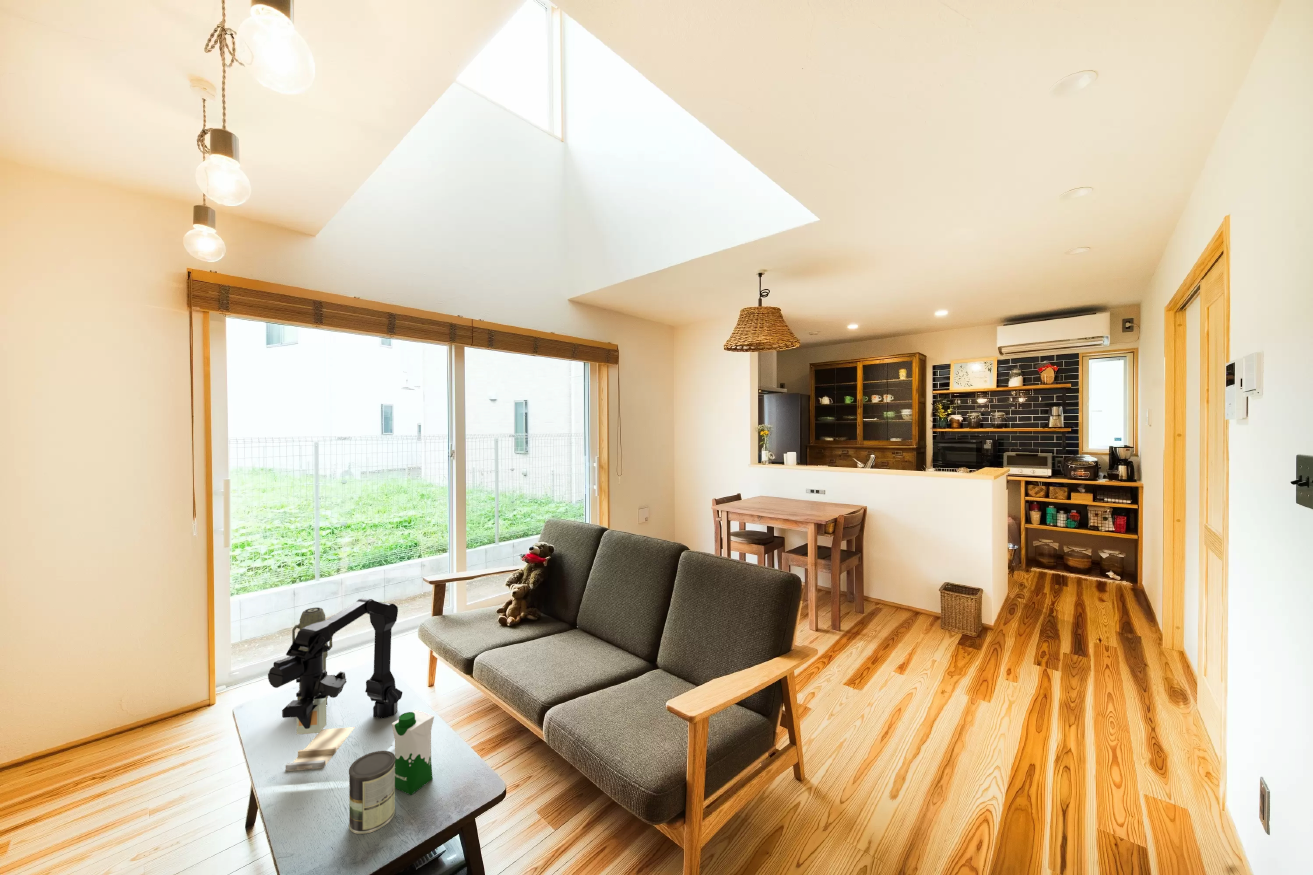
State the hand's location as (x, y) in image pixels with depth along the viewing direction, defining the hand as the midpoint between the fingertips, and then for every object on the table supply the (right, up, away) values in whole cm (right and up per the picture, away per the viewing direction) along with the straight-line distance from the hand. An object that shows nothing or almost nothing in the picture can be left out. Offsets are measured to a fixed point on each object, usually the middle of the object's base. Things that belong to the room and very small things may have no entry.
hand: (311, 723), depth 146 cm
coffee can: (+29, -13, -20) cm, 37 cm away
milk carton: (+33, -13, -7) cm, 36 cm away
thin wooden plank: (-1, -12, +6) cm, 14 cm away
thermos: (-21, -12, +31) cm, 39 cm away
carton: (0, -2, 0) cm, 2 cm away
